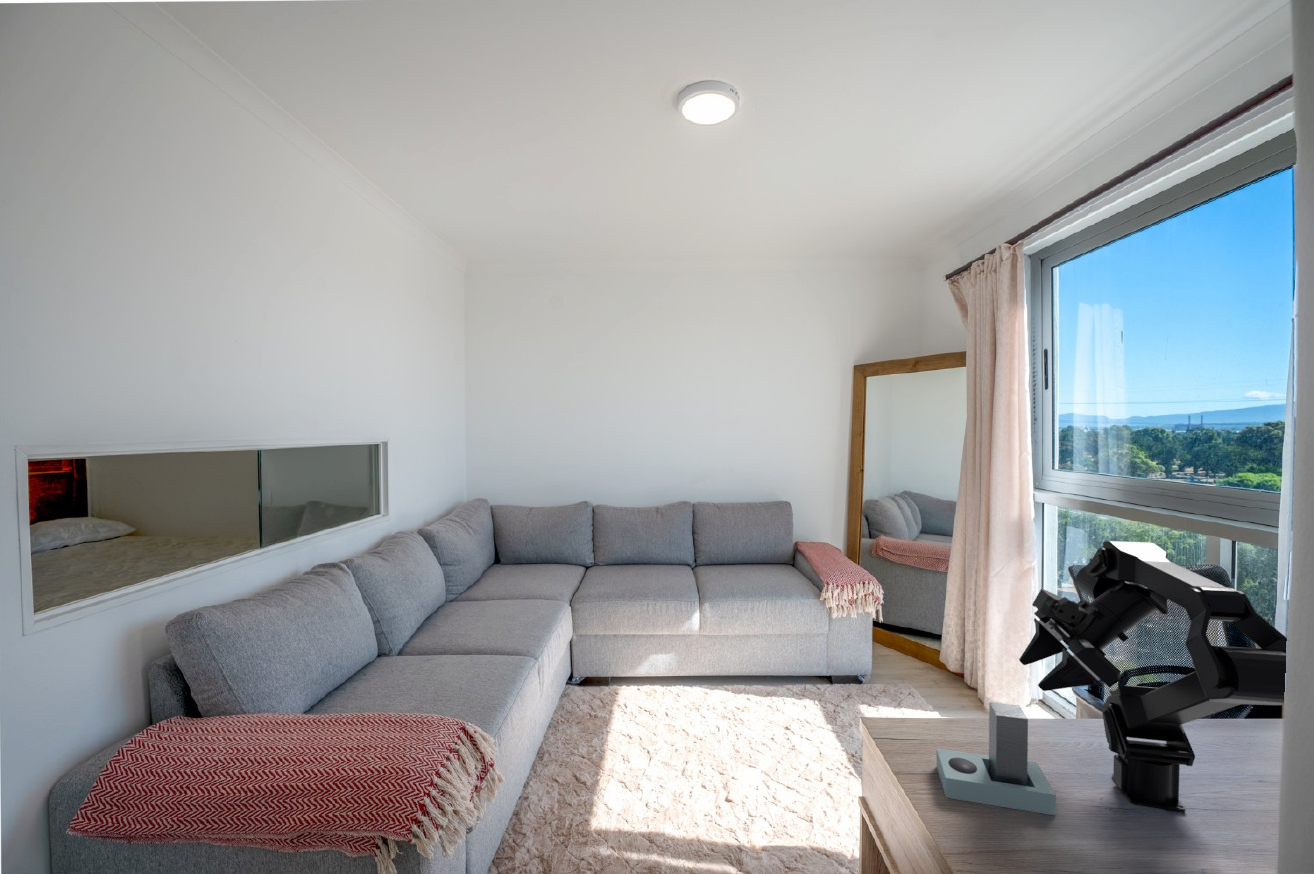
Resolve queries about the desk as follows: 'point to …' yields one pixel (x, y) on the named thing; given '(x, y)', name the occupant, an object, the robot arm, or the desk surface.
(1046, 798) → the socket block
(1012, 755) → the square bit
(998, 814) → the desk surface
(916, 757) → the desk surface
